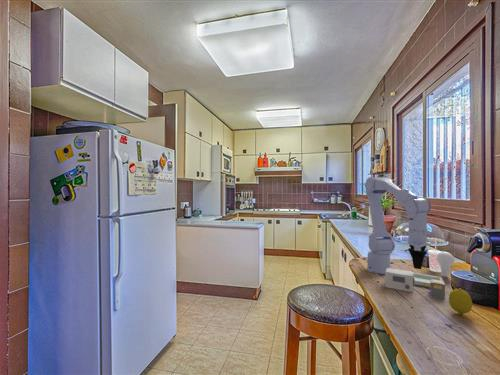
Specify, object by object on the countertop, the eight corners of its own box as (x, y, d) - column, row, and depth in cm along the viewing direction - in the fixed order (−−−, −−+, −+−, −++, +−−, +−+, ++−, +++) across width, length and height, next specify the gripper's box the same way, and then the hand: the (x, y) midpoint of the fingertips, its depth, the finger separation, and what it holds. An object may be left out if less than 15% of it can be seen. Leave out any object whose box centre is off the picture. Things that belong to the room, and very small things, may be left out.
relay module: (430, 296, 90) (430, 282, 90) (430, 292, 94) (430, 278, 94) (444, 299, 88) (444, 284, 88) (443, 294, 91) (443, 280, 91)
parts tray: (410, 284, 101) (410, 280, 101) (411, 276, 110) (411, 272, 110) (443, 290, 95) (443, 285, 95) (441, 281, 104) (441, 277, 104)
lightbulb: (457, 279, 106) (457, 254, 106) (441, 278, 107) (441, 253, 107) (449, 274, 112) (449, 250, 112) (433, 274, 113) (433, 249, 113)
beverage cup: (428, 267, 122) (428, 238, 122) (444, 270, 118) (444, 240, 118) (426, 270, 117) (426, 241, 117) (443, 273, 113) (443, 242, 113)
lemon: (466, 311, 79) (466, 286, 79) (476, 320, 74) (476, 293, 74) (445, 308, 81) (445, 284, 81) (453, 317, 76) (453, 290, 76)
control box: (385, 287, 98) (385, 272, 98) (387, 282, 103) (387, 267, 103) (414, 293, 93) (414, 277, 93) (414, 287, 98) (414, 272, 98)
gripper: (431, 234, 87) (431, 273, 87) (429, 228, 99) (429, 262, 99) (407, 232, 91) (407, 269, 91) (408, 226, 103) (408, 259, 103)
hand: (417, 265), depth 95 cm, fingers open, 7 cm apart
